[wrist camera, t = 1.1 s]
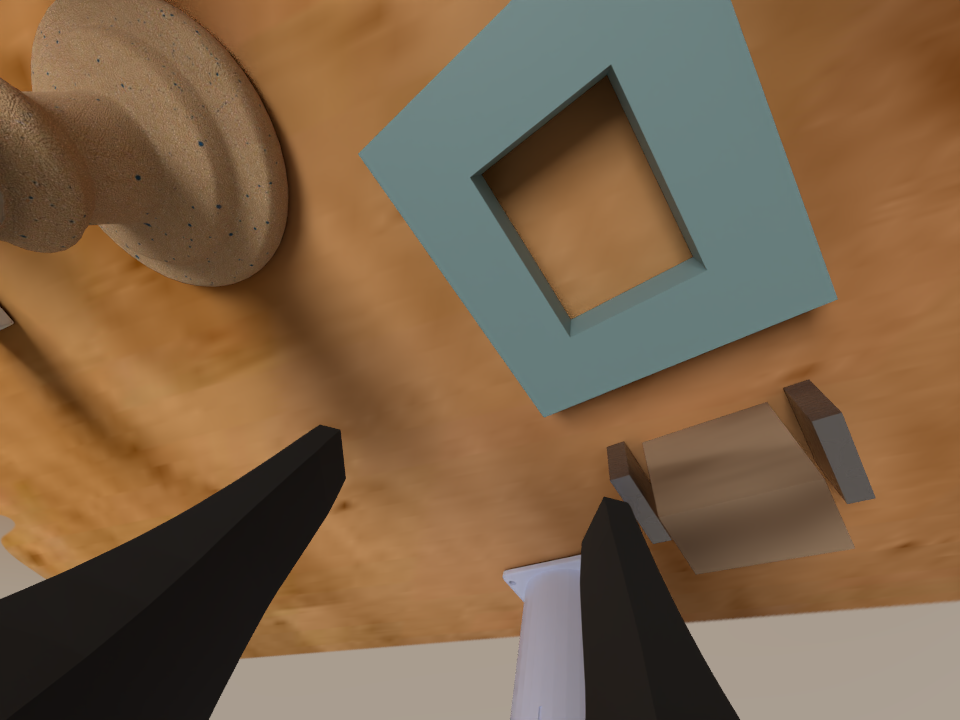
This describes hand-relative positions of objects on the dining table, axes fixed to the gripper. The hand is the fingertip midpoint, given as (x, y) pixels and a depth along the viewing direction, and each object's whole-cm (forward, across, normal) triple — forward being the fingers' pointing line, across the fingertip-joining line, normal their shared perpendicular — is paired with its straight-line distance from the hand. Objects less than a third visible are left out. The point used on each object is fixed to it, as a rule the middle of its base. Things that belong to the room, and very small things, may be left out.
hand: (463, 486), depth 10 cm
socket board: (+10, -2, -5) cm, 12 cm away
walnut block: (+10, -12, +5) cm, 16 cm away
